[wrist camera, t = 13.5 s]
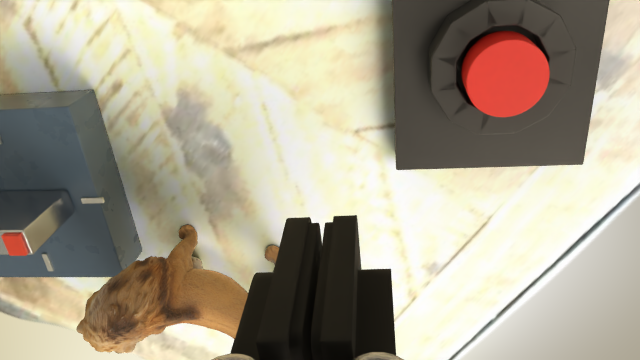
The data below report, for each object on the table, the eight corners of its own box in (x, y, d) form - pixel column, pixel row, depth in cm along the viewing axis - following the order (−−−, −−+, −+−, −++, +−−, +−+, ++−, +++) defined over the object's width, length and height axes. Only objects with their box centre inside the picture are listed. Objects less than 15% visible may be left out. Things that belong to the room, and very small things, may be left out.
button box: (390, -65, 26) (390, -59, 23) (604, -85, 25) (641, -82, 21) (395, 153, 32) (396, 185, 28) (570, 147, 30) (594, 180, 27)
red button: (462, 33, 24) (467, 42, 23) (543, 27, 24) (554, 36, 22) (459, 106, 26) (464, 119, 24) (535, 102, 26) (545, 116, 24)
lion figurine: (136, 273, 38) (72, 370, 31) (131, 212, 36) (59, 301, 28) (334, 304, 38) (321, 411, 30) (343, 244, 35) (331, 344, 27)
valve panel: (-58, 97, 33) (-98, 115, 30) (99, 88, 32) (72, 107, 29) (11, 251, 39) (-18, 279, 36) (147, 250, 37) (128, 279, 35)
